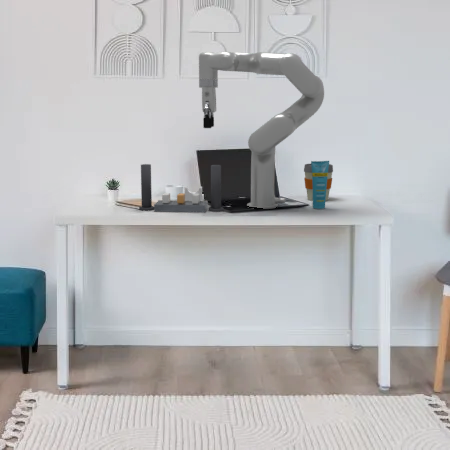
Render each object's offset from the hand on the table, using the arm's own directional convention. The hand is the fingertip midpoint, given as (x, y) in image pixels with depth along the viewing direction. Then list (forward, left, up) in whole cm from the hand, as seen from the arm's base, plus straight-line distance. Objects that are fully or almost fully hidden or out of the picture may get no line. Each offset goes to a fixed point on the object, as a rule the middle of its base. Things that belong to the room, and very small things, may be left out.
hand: (208, 127), depth 313 cm
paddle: (+4, +12, -29) cm, 32 cm away
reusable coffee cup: (-45, -20, -32) cm, 59 cm away
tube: (-45, +3, -32) cm, 56 cm away
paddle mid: (+10, +12, -29) cm, 33 cm away
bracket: (+7, -8, -33) cm, 34 cm away
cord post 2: (-4, +12, -32) cm, 35 cm away
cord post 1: (+24, +12, -32) cm, 42 cm away
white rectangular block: (+16, +12, -29) cm, 35 cm away
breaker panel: (+10, +12, -32) cm, 36 cm away
